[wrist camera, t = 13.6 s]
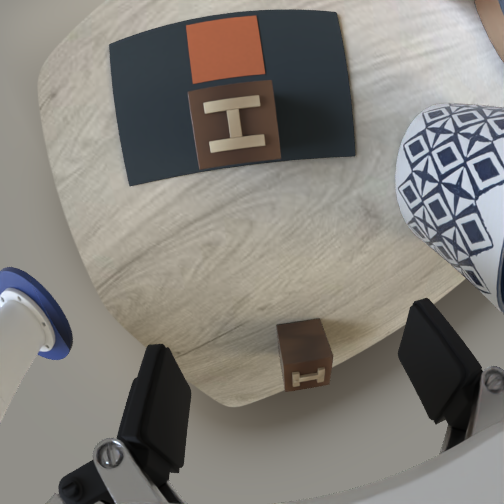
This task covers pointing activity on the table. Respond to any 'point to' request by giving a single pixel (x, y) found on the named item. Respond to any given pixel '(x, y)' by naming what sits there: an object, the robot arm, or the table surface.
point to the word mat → (231, 72)
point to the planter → (457, 189)
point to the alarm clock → (493, 22)
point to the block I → (304, 355)
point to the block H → (234, 124)
